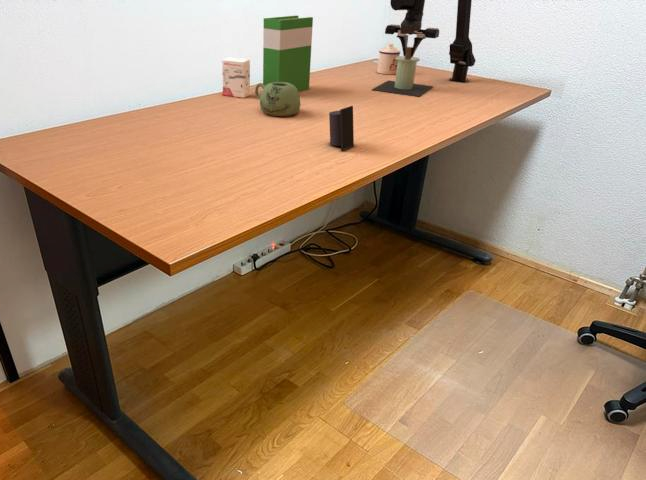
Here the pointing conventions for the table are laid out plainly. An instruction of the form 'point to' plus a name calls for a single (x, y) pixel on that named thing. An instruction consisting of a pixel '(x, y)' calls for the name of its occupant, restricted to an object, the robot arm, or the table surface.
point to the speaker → (342, 128)
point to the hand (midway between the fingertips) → (408, 56)
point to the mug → (279, 99)
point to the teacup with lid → (388, 60)
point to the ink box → (236, 77)
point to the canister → (405, 75)
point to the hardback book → (287, 50)
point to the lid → (408, 56)
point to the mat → (390, 88)
